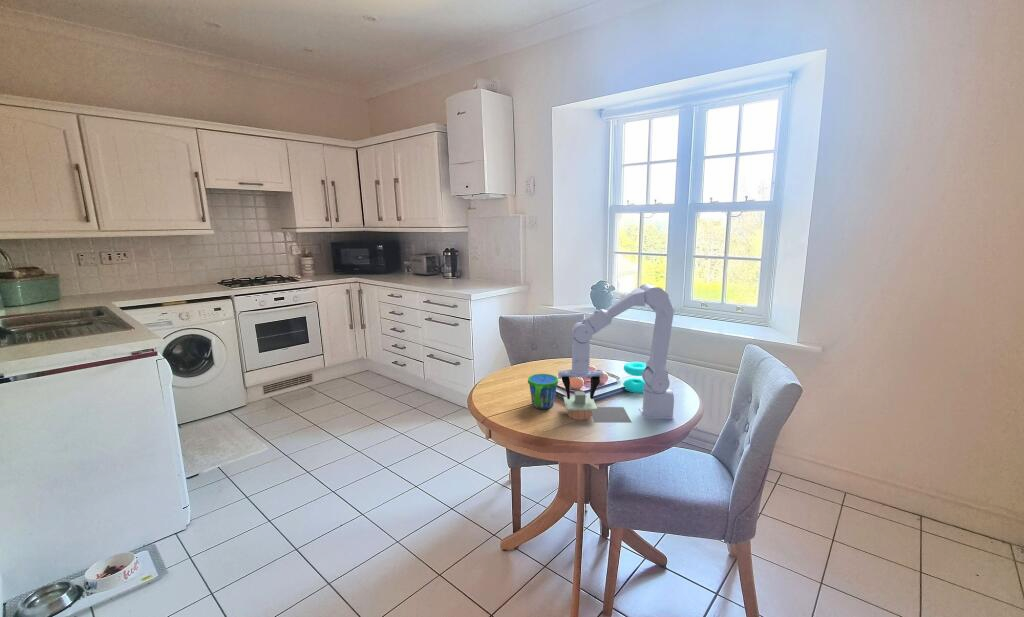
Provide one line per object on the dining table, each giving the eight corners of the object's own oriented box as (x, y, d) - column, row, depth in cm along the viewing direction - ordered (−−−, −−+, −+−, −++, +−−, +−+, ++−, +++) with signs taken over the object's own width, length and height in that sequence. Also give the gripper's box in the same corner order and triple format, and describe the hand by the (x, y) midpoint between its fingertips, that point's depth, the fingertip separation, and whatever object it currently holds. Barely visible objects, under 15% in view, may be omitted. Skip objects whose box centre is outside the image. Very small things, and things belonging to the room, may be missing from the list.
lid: (592, 398, 150) (592, 387, 149) (597, 410, 140) (597, 399, 140) (563, 398, 150) (563, 387, 150) (566, 410, 141) (566, 399, 140)
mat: (623, 408, 151) (623, 407, 151) (631, 423, 140) (631, 422, 140) (588, 408, 152) (588, 406, 152) (594, 423, 140) (594, 422, 140)
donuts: (621, 360, 172) (646, 360, 172) (620, 384, 174) (645, 384, 174) (627, 368, 162) (654, 368, 162) (626, 394, 164) (652, 394, 164)
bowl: (589, 410, 150) (590, 399, 149) (593, 420, 142) (593, 409, 141) (566, 410, 150) (566, 399, 149) (568, 420, 142) (569, 409, 141)
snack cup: (549, 417, 145) (549, 388, 143) (520, 411, 149) (520, 383, 147) (563, 400, 159) (564, 373, 157) (537, 395, 163) (537, 369, 161)
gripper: (559, 362, 139) (559, 402, 141) (605, 362, 138) (603, 402, 141) (557, 356, 145) (557, 394, 148) (601, 356, 145) (600, 394, 148)
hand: (579, 398), depth 145 cm, fingers open, 7 cm apart
